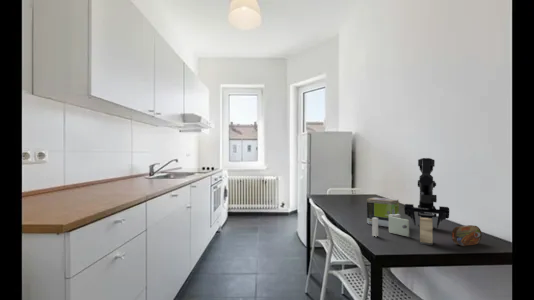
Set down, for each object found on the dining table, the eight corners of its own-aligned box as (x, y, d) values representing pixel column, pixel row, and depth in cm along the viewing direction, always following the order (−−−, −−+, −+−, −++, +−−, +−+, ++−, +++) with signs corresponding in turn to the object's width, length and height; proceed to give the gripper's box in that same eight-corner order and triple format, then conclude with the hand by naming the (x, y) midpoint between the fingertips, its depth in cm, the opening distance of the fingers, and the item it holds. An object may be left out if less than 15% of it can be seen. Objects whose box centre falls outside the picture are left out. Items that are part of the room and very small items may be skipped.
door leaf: (387, 232, 155) (387, 217, 155) (390, 232, 157) (390, 216, 157) (406, 237, 147) (406, 220, 147) (409, 236, 149) (408, 219, 149)
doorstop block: (420, 240, 142) (420, 217, 142) (432, 242, 140) (432, 218, 140) (420, 243, 138) (419, 219, 138) (432, 245, 135) (432, 220, 135)
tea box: (399, 225, 173) (399, 199, 173) (392, 228, 166) (392, 201, 166) (374, 221, 184) (374, 196, 184) (366, 223, 177) (366, 198, 177)
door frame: (397, 229, 163) (397, 212, 163) (400, 230, 161) (400, 213, 161) (372, 236, 150) (372, 217, 150) (375, 237, 148) (375, 218, 148)
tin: (456, 246, 133) (456, 227, 133) (450, 244, 136) (450, 225, 136) (482, 244, 137) (482, 225, 138) (475, 242, 140) (475, 223, 141)
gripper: (404, 187, 148) (402, 213, 138) (449, 189, 139) (450, 217, 129) (405, 201, 155) (404, 227, 145) (448, 204, 146) (449, 232, 136)
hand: (426, 226), depth 139 cm, fingers open, 9 cm apart
